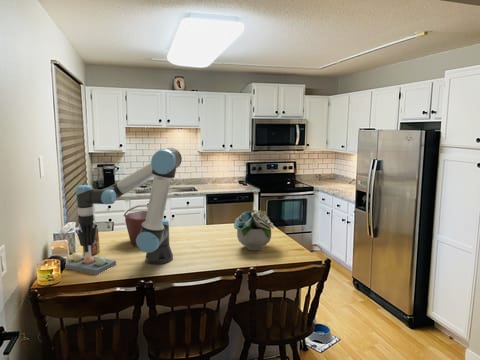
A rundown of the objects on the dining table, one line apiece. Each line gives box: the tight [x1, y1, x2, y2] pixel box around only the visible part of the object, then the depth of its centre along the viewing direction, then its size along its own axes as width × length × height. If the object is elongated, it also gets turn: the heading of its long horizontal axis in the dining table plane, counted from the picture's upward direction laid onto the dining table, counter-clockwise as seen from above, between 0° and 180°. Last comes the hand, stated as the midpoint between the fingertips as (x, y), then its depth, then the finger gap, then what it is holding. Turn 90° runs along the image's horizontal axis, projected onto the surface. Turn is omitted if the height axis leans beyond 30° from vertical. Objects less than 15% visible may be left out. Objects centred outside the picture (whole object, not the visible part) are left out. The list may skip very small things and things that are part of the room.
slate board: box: [65, 254, 117, 276], centre depth 190 cm, size 24×14×2 cm, turn 68°
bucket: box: [123, 204, 149, 248], centre depth 226 cm, size 24×22×25 cm
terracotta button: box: [84, 255, 95, 265], centre depth 190 cm, size 5×5×4 cm
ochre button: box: [71, 251, 83, 263], centre depth 193 cm, size 5×5×4 cm
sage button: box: [95, 255, 106, 267], centre depth 187 cm, size 5×5×4 cm
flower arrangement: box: [233, 209, 275, 252], centre depth 217 cm, size 25×25×24 cm
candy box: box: [82, 227, 101, 256], centre depth 206 cm, size 9×4×15 cm, turn 156°
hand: (88, 257), depth 190 cm, fingers closed
